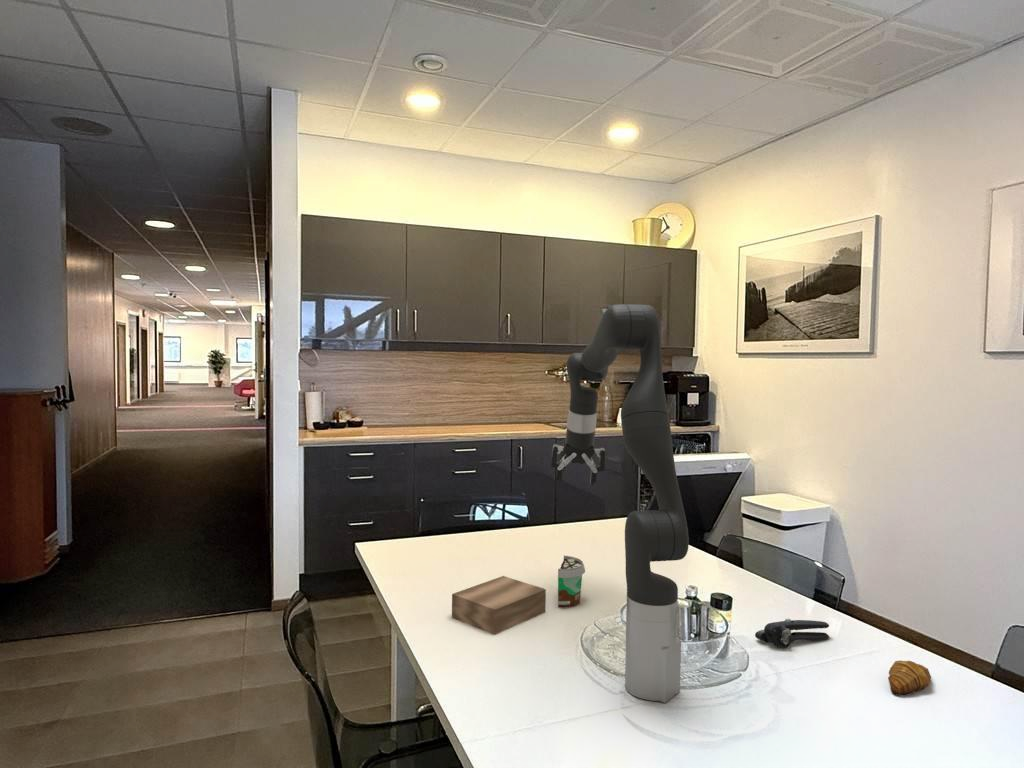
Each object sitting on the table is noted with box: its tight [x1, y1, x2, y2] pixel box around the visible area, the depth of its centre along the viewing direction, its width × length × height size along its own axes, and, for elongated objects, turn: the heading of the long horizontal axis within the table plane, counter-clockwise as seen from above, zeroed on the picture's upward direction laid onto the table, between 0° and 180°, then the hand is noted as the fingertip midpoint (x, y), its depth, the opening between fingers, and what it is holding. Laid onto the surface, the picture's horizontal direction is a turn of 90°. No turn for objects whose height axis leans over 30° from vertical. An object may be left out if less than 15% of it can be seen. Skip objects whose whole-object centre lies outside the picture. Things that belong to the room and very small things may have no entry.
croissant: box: [888, 660, 932, 696], centre depth 119 cm, size 14×7×5 cm, turn 127°
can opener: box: [754, 618, 830, 649], centre depth 138 cm, size 18×7×6 cm, turn 106°
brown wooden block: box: [451, 575, 547, 636], centre depth 150 cm, size 14×18×6 cm
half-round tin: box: [557, 555, 586, 609], centre depth 160 cm, size 12×6×10 cm, turn 168°
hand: (575, 482), depth 169 cm, fingers open, 8 cm apart
